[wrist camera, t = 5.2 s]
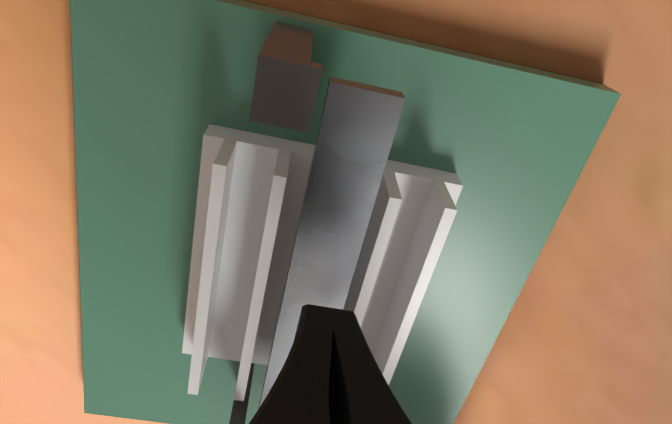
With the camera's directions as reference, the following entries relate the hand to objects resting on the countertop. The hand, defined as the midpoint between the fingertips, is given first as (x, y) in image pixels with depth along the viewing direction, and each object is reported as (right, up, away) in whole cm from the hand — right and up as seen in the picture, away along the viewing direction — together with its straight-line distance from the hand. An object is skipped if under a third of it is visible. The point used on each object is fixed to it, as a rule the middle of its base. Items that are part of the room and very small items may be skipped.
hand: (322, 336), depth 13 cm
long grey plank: (-1, 0, +4) cm, 4 cm away
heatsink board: (-1, +1, +9) cm, 9 cm away
